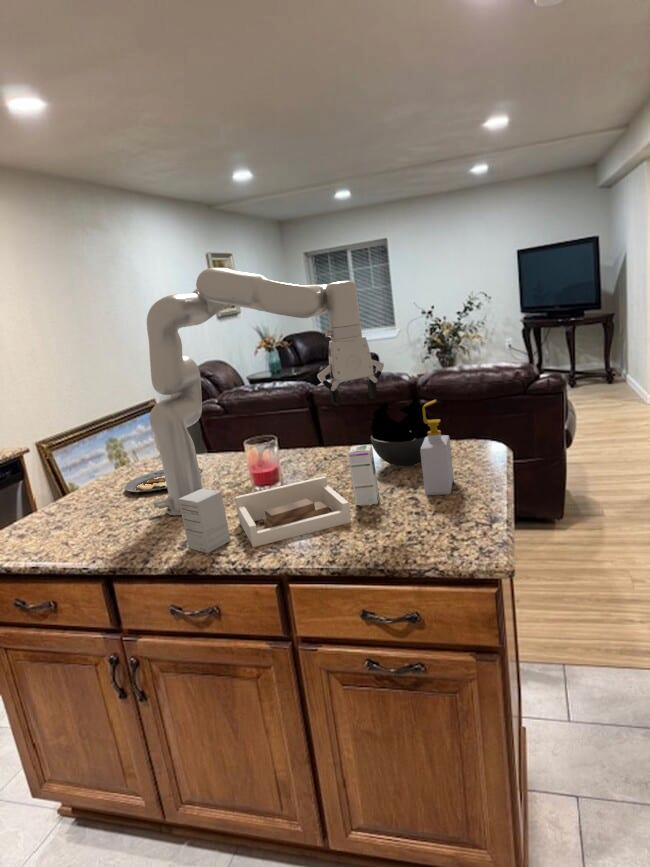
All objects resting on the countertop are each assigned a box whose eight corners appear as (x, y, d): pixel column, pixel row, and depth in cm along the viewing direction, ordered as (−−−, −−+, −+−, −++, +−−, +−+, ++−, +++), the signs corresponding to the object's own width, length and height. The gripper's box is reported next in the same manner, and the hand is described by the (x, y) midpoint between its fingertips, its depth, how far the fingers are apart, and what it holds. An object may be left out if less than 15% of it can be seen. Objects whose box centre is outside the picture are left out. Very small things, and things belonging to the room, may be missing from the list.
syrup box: (377, 504, 152) (370, 449, 149) (354, 506, 153) (347, 452, 150) (379, 496, 158) (372, 443, 154) (357, 498, 159) (350, 445, 155)
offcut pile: (265, 543, 139) (260, 519, 138) (257, 536, 144) (253, 513, 143) (333, 521, 146) (330, 498, 145) (323, 515, 151) (320, 493, 150)
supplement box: (211, 536, 147) (202, 487, 144) (231, 541, 142) (222, 490, 139) (187, 548, 141) (177, 498, 139) (207, 553, 137) (197, 501, 134)
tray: (253, 547, 137) (248, 518, 135) (239, 522, 154) (235, 496, 152) (351, 522, 143) (347, 494, 142) (328, 501, 160) (324, 476, 158)
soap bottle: (451, 495, 152) (442, 404, 146) (424, 496, 153) (415, 406, 148) (453, 479, 163) (445, 394, 158) (429, 480, 165) (420, 397, 160)
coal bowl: (452, 466, 174) (446, 403, 170) (388, 480, 169) (380, 416, 165) (423, 451, 193) (417, 394, 189) (365, 464, 188) (357, 406, 184)
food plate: (209, 468, 211) (207, 458, 210) (194, 490, 188) (191, 479, 187) (140, 479, 212) (137, 469, 211) (117, 502, 189) (114, 491, 189)
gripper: (317, 339, 140) (326, 410, 144) (384, 328, 145) (392, 397, 149) (308, 338, 147) (317, 406, 151) (373, 327, 152) (380, 394, 156)
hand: (354, 401), depth 150 cm, fingers open, 9 cm apart
